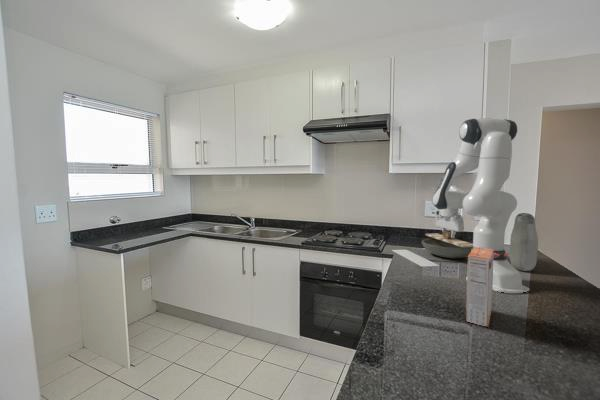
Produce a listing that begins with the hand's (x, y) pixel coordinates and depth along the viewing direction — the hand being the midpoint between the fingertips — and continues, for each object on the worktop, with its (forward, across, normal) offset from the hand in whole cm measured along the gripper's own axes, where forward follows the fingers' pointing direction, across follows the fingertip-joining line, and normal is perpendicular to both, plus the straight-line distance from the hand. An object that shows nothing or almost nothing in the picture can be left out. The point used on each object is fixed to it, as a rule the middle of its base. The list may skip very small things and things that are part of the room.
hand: (448, 236), depth 155 cm
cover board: (+2, 0, 0) cm, 2 cm away
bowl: (+12, 0, 0) cm, 12 cm away
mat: (+12, 0, +22) cm, 24 cm away
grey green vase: (+12, -27, -20) cm, 36 cm away
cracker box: (+12, -67, +37) cm, 77 cm away
